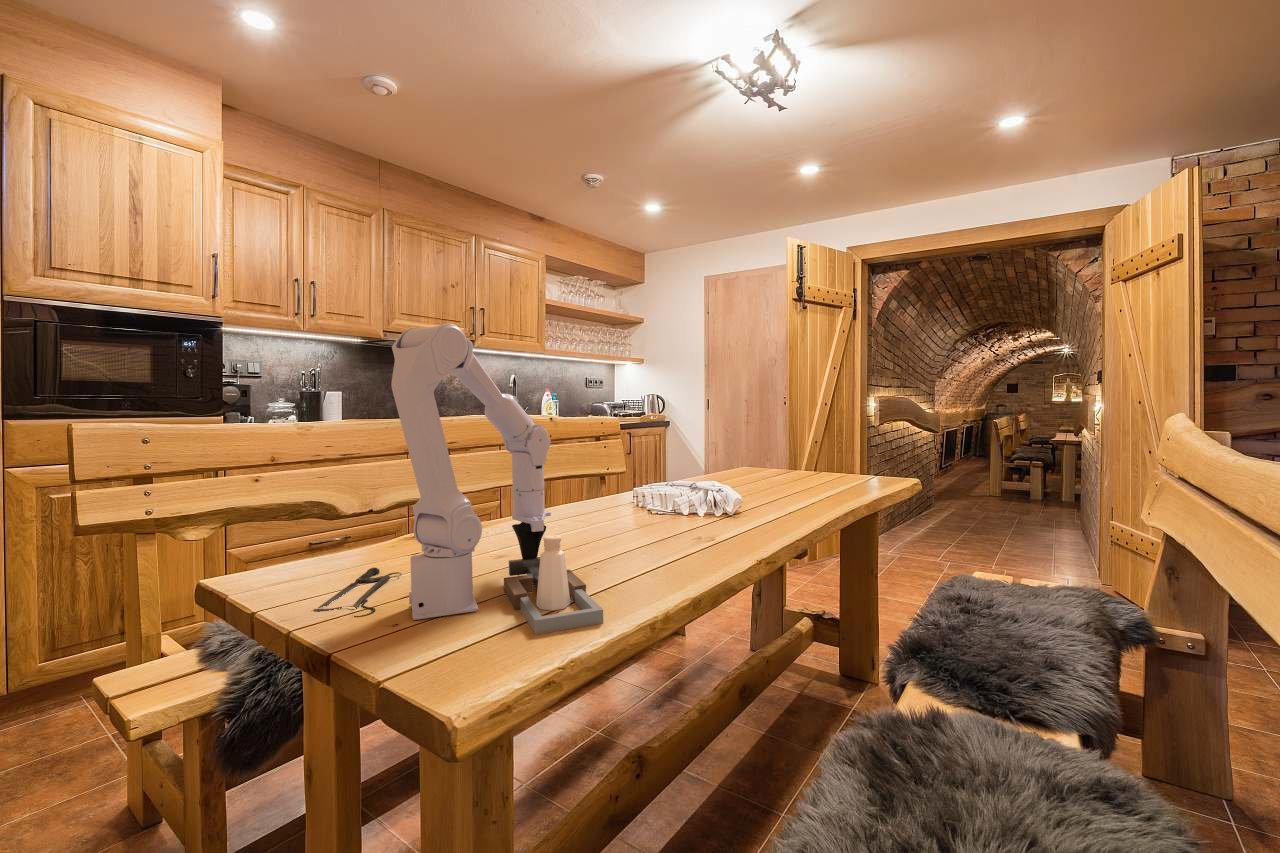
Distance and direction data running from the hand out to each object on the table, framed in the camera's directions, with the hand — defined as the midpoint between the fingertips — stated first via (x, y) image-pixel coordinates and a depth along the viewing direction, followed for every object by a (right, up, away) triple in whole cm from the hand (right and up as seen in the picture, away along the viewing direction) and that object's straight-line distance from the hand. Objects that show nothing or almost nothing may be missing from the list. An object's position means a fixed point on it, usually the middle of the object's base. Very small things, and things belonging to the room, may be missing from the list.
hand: (529, 562), depth 105 cm
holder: (+5, -3, -11) cm, 12 cm away
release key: (+3, -2, -7) cm, 8 cm away
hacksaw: (-26, -4, -7) cm, 27 cm away
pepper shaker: (+6, -4, -14) cm, 16 cm away
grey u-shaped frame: (+8, -4, -19) cm, 21 cm away
